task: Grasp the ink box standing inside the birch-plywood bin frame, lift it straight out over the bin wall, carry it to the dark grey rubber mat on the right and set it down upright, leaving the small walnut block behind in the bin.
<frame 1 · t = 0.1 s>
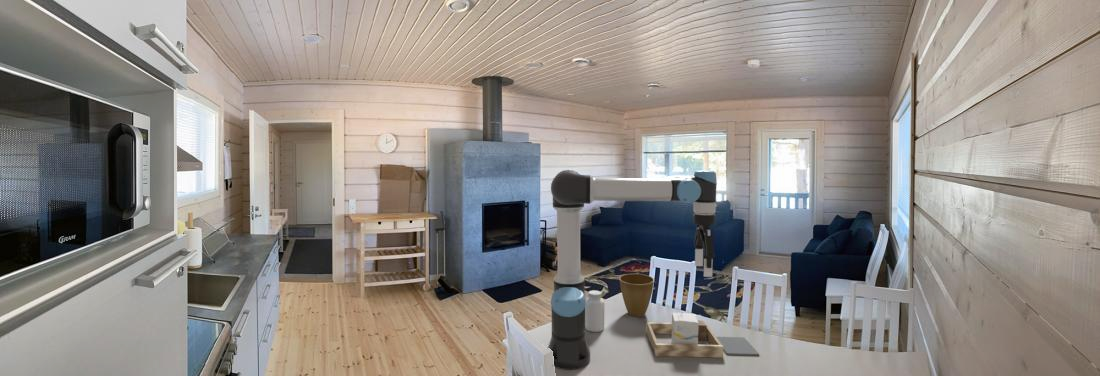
hand: (703, 271, 149), 28 cm above the table, fingers open, 13 cm apart
walnut block: (698, 337, 156), resting in bin frame
bin frame: (682, 343, 151), on the table
ink box: (684, 348, 148), resting in bin frame
grey mat: (735, 346, 149), on the table
white bottle: (594, 328, 165), on the table
plant pot: (636, 314, 180), on the table
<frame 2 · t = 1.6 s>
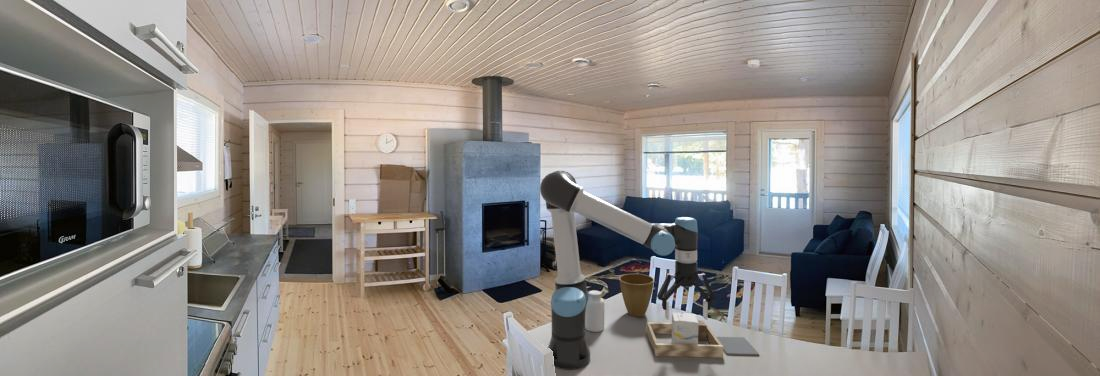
hand: (686, 318, 147), 11 cm above the table, fingers open, 13 cm apart
nothing on the table moved.
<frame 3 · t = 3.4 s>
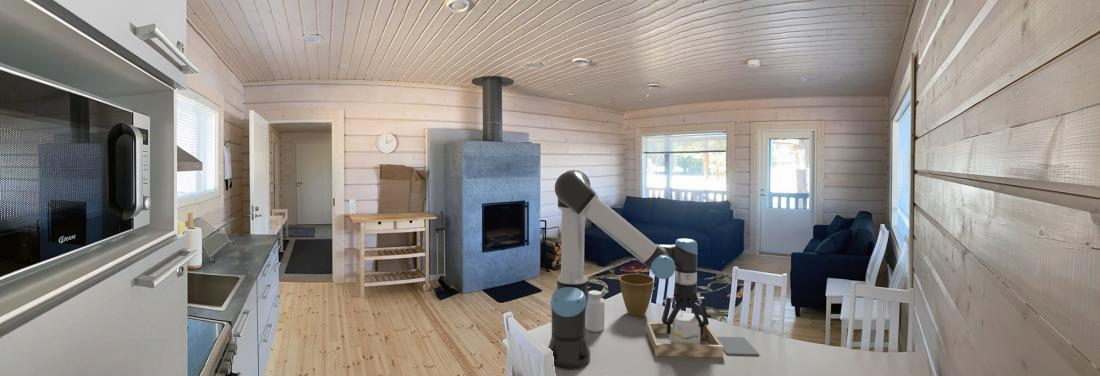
hand: (684, 342, 148), 2 cm above the table, fingers closed on ink box, 9 cm apart
ink box: (684, 348, 148), resting in bin frame, touching gripper
everything else where it was.
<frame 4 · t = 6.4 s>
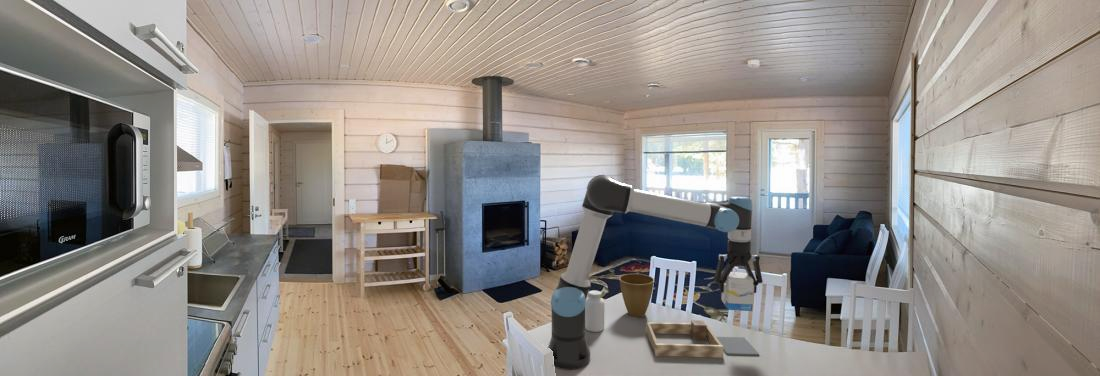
hand: (737, 301, 147), 17 cm above the table, fingers closed on ink box, 9 cm apart
ink box: (737, 306, 148), point 15 cm above the table, touching gripper
everything else where it was.
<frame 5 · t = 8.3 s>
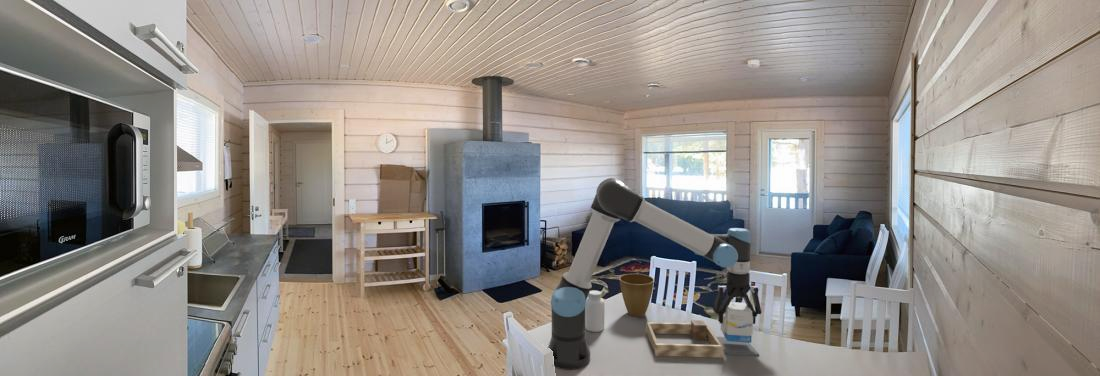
hand: (736, 331, 148), 6 cm above the table, fingers closed on ink box, 9 cm apart
ink box: (736, 337, 149), point 3 cm above the table, touching gripper
everything else where it was.
when the fingers open (4 cm above the table, at t = 9.5 s): ink box drops 2 cm, resting on grey mat.
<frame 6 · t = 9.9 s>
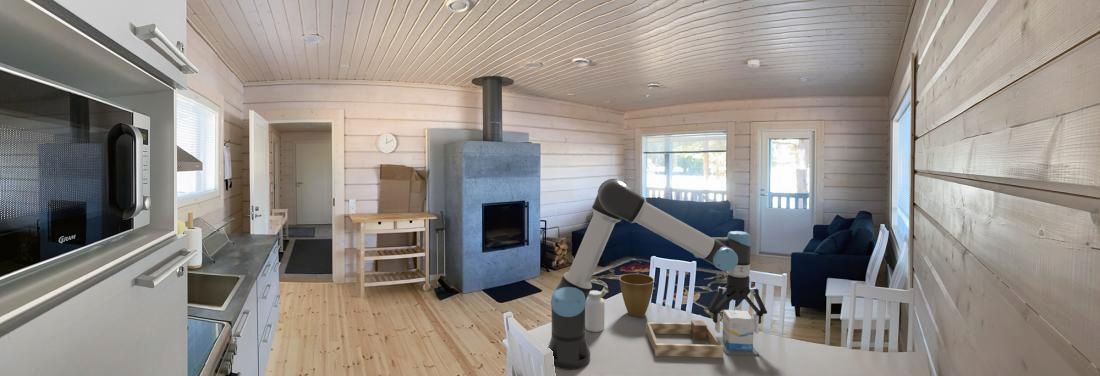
hand: (736, 331, 148), 6 cm above the table, fingers open, 13 cm apart
ink box: (737, 345, 149), resting on grey mat
everything else where it was.
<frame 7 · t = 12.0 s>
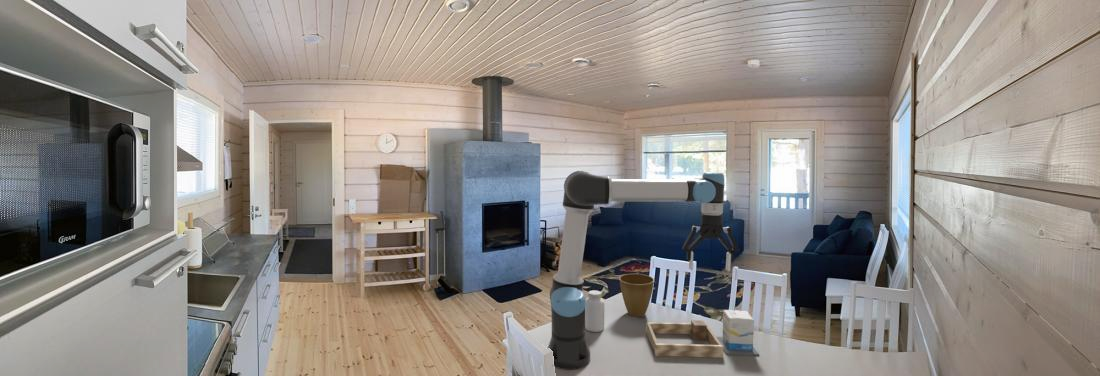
hand: (709, 269, 153), 27 cm above the table, fingers open, 13 cm apart
nothing on the table moved.
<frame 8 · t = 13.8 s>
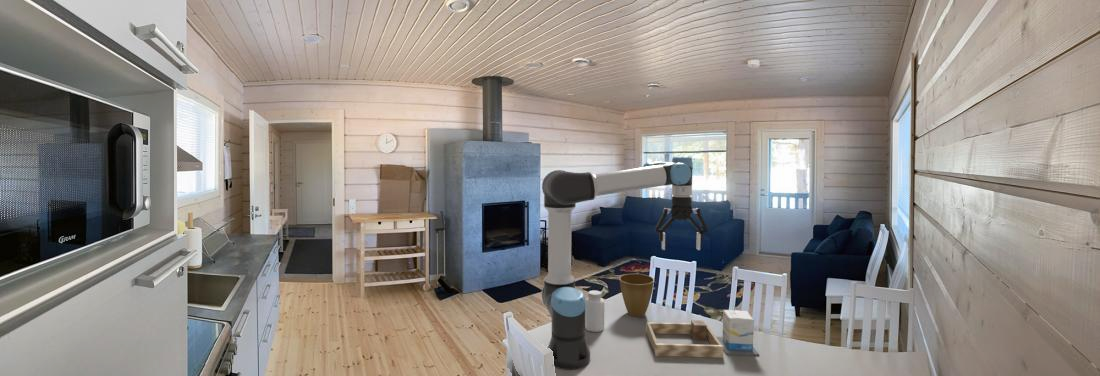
hand: (680, 249, 161), 33 cm above the table, fingers open, 13 cm apart
nothing on the table moved.
at the end: ink box inside the target area on the grey mat (0.5 cm from its centre), point 0.4 cm above the grey mat's base; ink box tilted 0°; the gripper is holding nothing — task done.
